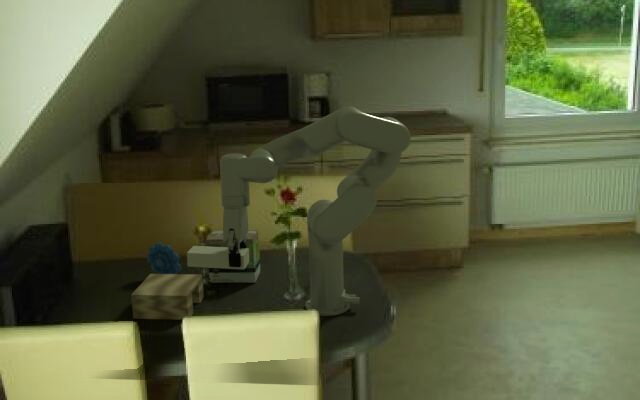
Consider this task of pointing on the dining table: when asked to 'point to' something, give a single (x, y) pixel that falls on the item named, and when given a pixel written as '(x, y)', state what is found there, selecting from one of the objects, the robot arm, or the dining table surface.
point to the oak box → (167, 296)
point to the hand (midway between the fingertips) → (238, 261)
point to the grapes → (163, 259)
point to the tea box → (236, 275)
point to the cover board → (214, 257)
